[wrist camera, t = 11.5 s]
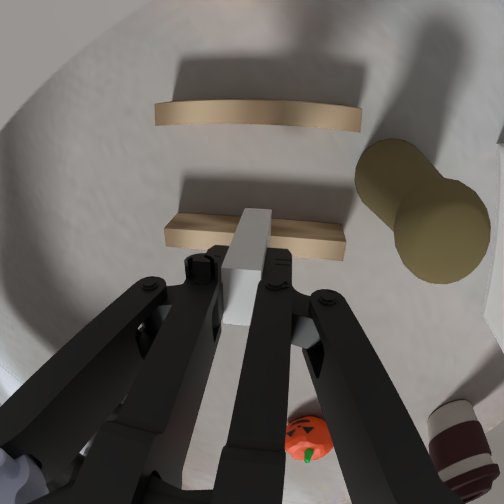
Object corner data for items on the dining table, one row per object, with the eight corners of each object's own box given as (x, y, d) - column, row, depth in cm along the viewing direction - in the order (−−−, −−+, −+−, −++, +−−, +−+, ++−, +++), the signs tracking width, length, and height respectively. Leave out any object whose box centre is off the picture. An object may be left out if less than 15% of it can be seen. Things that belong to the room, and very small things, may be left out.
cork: (436, 200, 21) (508, 277, 12) (369, 226, 23) (409, 320, 14) (415, 127, 19) (501, 165, 9) (342, 154, 21) (381, 211, 11)
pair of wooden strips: (179, 229, 26) (166, 246, 23) (171, 101, 21) (154, 103, 18) (338, 241, 24) (343, 260, 22) (353, 106, 19) (362, 108, 17)
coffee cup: (426, 400, 33) (445, 500, 20) (487, 386, 31) (514, 474, 18) (412, 434, 38) (422, 517, 25) (466, 421, 35) (484, 498, 22)
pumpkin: (277, 427, 40) (266, 464, 34) (302, 401, 36) (294, 443, 30) (319, 442, 40) (313, 478, 34) (349, 418, 36) (346, 459, 30)
